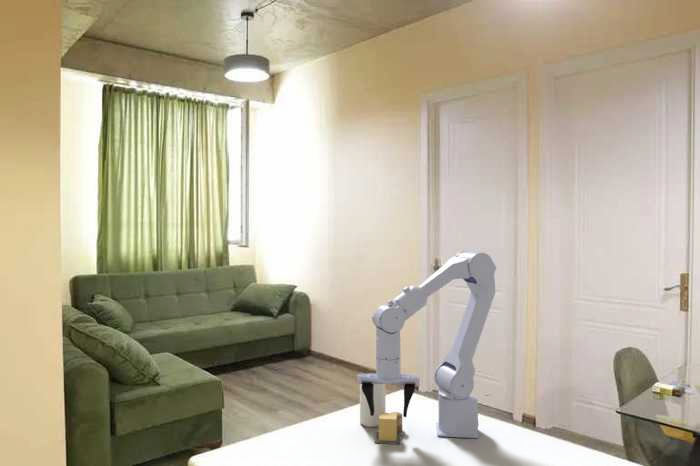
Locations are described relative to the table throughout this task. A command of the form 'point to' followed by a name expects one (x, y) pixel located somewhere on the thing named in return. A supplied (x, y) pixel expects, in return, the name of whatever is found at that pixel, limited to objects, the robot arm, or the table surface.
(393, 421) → the ochre block
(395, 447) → the table surface
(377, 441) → the coaster
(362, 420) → the can
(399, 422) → the cork cylinder
